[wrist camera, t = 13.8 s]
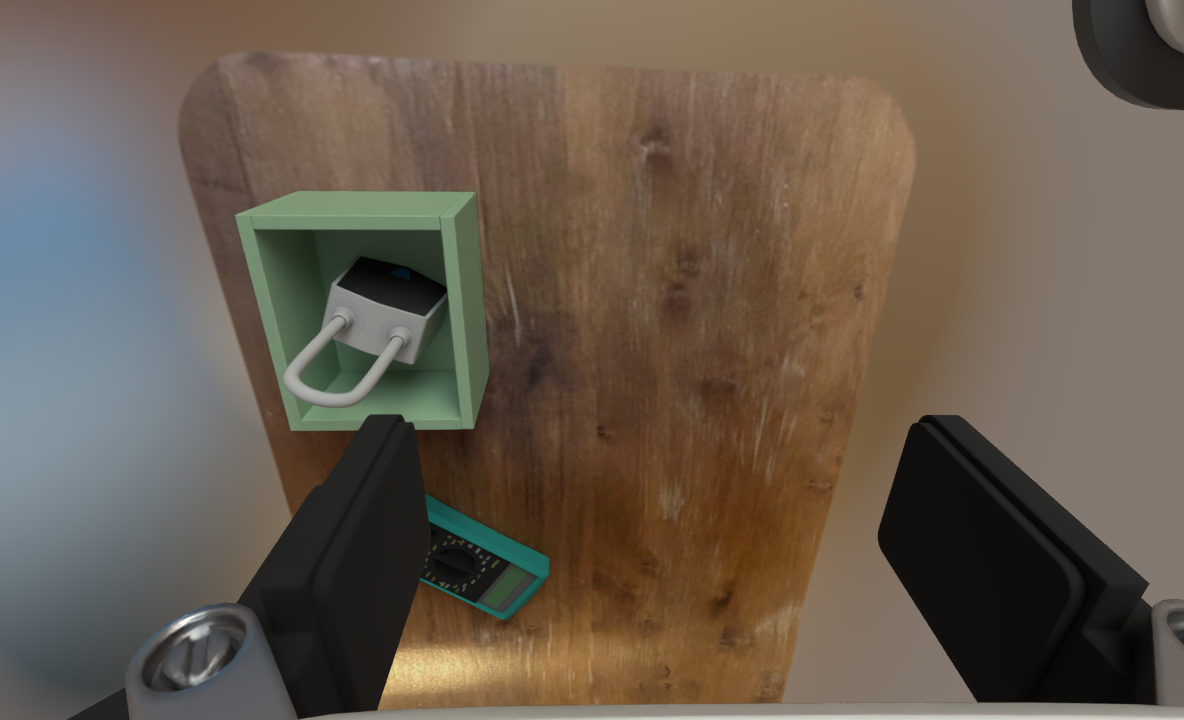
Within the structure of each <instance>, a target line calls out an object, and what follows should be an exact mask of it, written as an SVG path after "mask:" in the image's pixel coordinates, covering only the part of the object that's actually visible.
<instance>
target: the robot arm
mask: <svg viewBox="0 0 1184 720" xmlns="http://www.w3.org/2000/svg"><path fill="white" fill-rule="evenodd" d="M1145 3H1146V7H1147V10H1148V14H1149V18H1150V21H1151V23H1152V24H1153V26H1154V28H1155V30H1156V31H1157V33H1158V35H1159V36H1160V37H1161V38H1162V39H1163V40H1164V41H1165V42H1166V43H1167V44H1168V45H1169V46H1170V47H1171V48H1173V49H1175V50H1177V51H1179V52H1181V53H1183V54H1184V0H1145ZM878 542H879V546H880V549H881V550H882V552H883V554H884V556H885V557H886V559H887V560H888V562H889V564H890V565H891V567H892V568H893V570H894V571H895V573H896V575H897V576H898V578H899V579H900V581H901V582H902V584H903V586H904V587H905V589H906V590H907V592H908V594H909V595H910V597H911V598H912V600H913V601H914V603H915V605H916V606H917V608H918V609H919V611H920V612H921V614H922V616H923V617H924V619H925V620H926V622H927V623H928V625H929V627H930V628H931V630H932V631H933V633H934V634H935V636H936V638H937V639H938V641H939V642H940V644H941V645H942V647H943V649H944V650H945V652H946V653H947V655H948V657H949V658H950V659H951V661H952V663H953V664H954V666H955V668H956V669H957V671H958V672H959V674H960V675H961V677H962V678H963V680H964V682H965V683H966V685H967V687H968V688H969V690H970V691H971V693H972V694H973V696H974V697H975V699H976V700H977V702H978V703H756V704H643V705H565V706H493V707H460V708H427V709H394V710H378V711H377V709H378V705H379V702H380V699H381V696H382V693H383V690H384V687H385V684H386V681H387V678H388V675H389V672H390V669H391V666H392V663H393V660H394V657H395V654H396V651H397V648H398V645H399V642H400V639H401V636H402V632H403V629H404V626H405V623H406V620H407V617H408V614H409V611H410V608H411V605H412V602H413V599H414V596H415V593H416V590H417V587H418V584H419V581H420V578H421V575H422V572H423V569H424V566H425V563H426V559H427V556H428V553H429V550H430V543H431V530H430V524H429V517H428V511H427V504H426V497H425V491H424V484H423V478H422V471H421V465H420V458H419V451H418V445H417V438H416V432H415V427H414V424H413V423H412V422H405V420H404V417H403V416H402V415H401V414H371V415H368V417H367V418H366V419H365V421H364V422H363V424H362V425H361V427H360V428H359V430H358V432H357V433H356V435H355V436H354V438H353V439H352V441H351V442H350V444H349V445H348V447H347V449H346V450H345V452H344V453H343V455H342V456H341V458H340V459H339V461H338V463H337V464H336V466H335V467H334V469H333V470H332V472H331V473H330V475H329V476H328V478H327V480H326V481H325V483H324V484H323V485H319V486H316V487H315V488H314V489H313V490H312V491H311V492H310V493H309V495H308V496H307V498H306V499H305V501H304V502H303V504H302V505H301V507H300V508H299V510H298V511H297V513H296V514H295V516H294V517H293V519H292V520H291V522H290V523H289V525H288V526H287V528H286V529H285V531H284V532H283V534H282V535H281V537H280V538H279V540H278V542H277V543H276V544H275V546H274V547H273V549H272V550H271V552H270V553H269V555H268V557H267V558H266V559H265V561H264V562H263V564H262V565H261V567H260V568H259V570H258V571H257V573H256V575H255V576H254V577H253V579H252V581H251V582H250V583H249V585H248V586H247V588H246V589H245V591H244V592H243V594H242V595H241V597H240V599H239V600H238V601H237V603H219V604H213V605H207V606H204V607H201V608H199V609H196V610H193V611H190V612H187V613H185V614H184V615H181V616H180V617H178V618H176V619H174V620H173V621H171V622H169V623H167V624H166V625H165V626H163V627H162V628H161V629H160V630H158V631H157V632H156V633H154V634H153V635H152V636H151V637H149V638H148V640H147V641H146V642H145V643H144V644H143V645H142V646H141V648H140V649H139V650H138V651H137V652H136V653H135V655H134V657H133V659H132V661H131V663H130V665H129V667H128V668H127V673H126V681H125V688H123V689H121V690H120V691H118V692H116V693H114V694H112V695H111V696H109V697H107V698H105V699H104V700H102V701H100V702H98V703H96V704H94V705H93V706H91V707H89V708H87V709H86V710H84V711H82V712H80V713H78V714H77V715H75V716H73V717H71V718H69V719H68V720H1184V600H1181V599H1170V600H1162V601H1160V602H1159V603H1157V604H1155V605H1154V606H1153V608H1152V607H1151V606H1150V605H1149V604H1147V603H1146V602H1145V601H1144V600H1143V599H1142V598H1141V597H1142V595H1143V593H1144V592H1145V590H1146V589H1147V587H1148V585H1149V583H1148V582H1147V581H1146V580H1145V579H1144V578H1143V577H1141V576H1140V575H1139V574H1138V573H1137V572H1136V571H1135V570H1134V569H1132V568H1131V567H1130V566H1129V565H1128V564H1127V563H1126V562H1125V561H1123V560H1122V559H1121V558H1120V557H1119V556H1118V555H1117V554H1116V553H1114V552H1113V551H1112V550H1111V549H1110V548H1109V547H1108V546H1107V545H1105V544H1104V543H1103V542H1102V541H1101V540H1100V539H1099V538H1098V537H1096V536H1095V535H1094V534H1093V533H1092V532H1091V531H1090V530H1089V529H1087V528H1086V527H1085V526H1084V525H1083V524H1082V523H1081V522H1079V521H1078V520H1077V519H1076V518H1075V517H1074V516H1073V515H1072V514H1070V513H1069V512H1068V511H1067V510H1066V509H1065V508H1064V507H1063V506H1061V505H1060V504H1059V503H1058V502H1057V501H1056V500H1055V499H1054V498H1052V497H1051V496H1050V495H1049V494H1048V493H1047V492H1046V491H1045V490H1043V489H1042V488H1041V487H1040V486H1039V485H1038V484H1037V483H1036V482H1034V481H1033V480H1032V479H1031V478H1030V477H1029V476H1028V475H1026V474H1025V473H1024V472H1023V471H1022V470H1021V469H1020V468H1019V467H1018V466H1016V465H1015V464H1014V463H1013V462H1012V461H1011V460H1010V459H1008V458H1007V457H1006V456H1005V455H1004V454H1003V453H1002V452H1001V451H999V450H998V449H997V448H996V447H995V446H994V445H993V444H992V443H990V442H989V441H988V440H987V439H986V438H985V437H984V436H982V435H981V434H980V433H979V432H978V431H977V430H976V429H975V428H973V427H972V426H971V425H970V424H969V423H968V422H967V421H966V420H964V419H963V418H962V417H960V416H958V415H925V416H923V417H921V419H920V420H919V422H918V423H914V424H912V425H911V427H910V429H909V432H908V435H907V438H906V441H905V445H904V448H903V451H902V455H901V458H900V461H899V465H898V468H897V471H896V474H895V478H894V481H893V484H892V487H891V491H890V494H889V497H888V500H887V504H886V507H885V510H884V514H883V517H882V520H881V523H880V527H879V530H878Z"/></svg>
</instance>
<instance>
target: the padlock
mask: <svg viewBox="0 0 1184 720" xmlns="http://www.w3.org/2000/svg"><path fill="white" fill-rule="evenodd" d="M448 305H449V302H448V292H447V287H445V286H443V285H442V284H440V283H438V282H436V281H434V280H432V279H430V278H428V277H426V276H424V275H422V274H421V273H419V272H417V271H415V270H413V269H411V268H409V267H406V266H402V265H398V264H393V263H389V262H385V261H381V260H376V259H372V258H368V257H363V256H359V255H357V256H356V257H355V258H354V259H353V260H352V261H351V263H350V264H349V265H348V266H347V267H346V268H345V269H344V271H343V272H342V273H341V274H340V275H339V276H338V277H337V279H336V280H335V281H334V282H333V283H332V285H331V290H330V294H329V298H328V302H327V307H326V311H325V315H324V319H323V324H322V328H321V332H320V333H319V334H318V335H317V336H316V337H315V338H314V339H313V340H312V341H311V342H310V343H309V344H308V345H307V346H306V347H305V348H304V349H303V350H302V351H301V352H300V353H299V354H298V355H297V356H296V358H295V359H294V360H293V361H292V362H291V363H290V365H289V366H288V367H287V369H286V371H285V373H284V376H283V382H284V385H285V387H286V388H287V390H288V391H289V392H290V393H291V394H293V395H294V396H295V397H297V398H298V399H300V400H302V401H304V402H307V403H309V404H312V405H316V406H320V407H327V408H345V407H350V406H353V405H356V404H357V403H359V402H361V401H362V400H363V399H364V398H365V397H366V396H367V395H368V394H369V393H370V391H371V390H372V389H373V388H374V386H375V385H376V384H377V382H378V381H379V379H380V378H381V376H382V375H383V374H384V372H385V371H386V369H387V368H388V366H389V365H390V363H391V362H392V360H397V361H400V362H404V363H408V364H414V363H415V362H416V360H417V359H418V358H419V357H420V355H421V354H422V353H423V351H424V350H425V349H426V348H427V346H428V345H429V344H430V343H431V341H432V340H433V339H434V337H435V336H436V335H437V334H438V332H439V331H440V329H441V326H442V323H443V320H444V317H445V314H446V311H447V308H448ZM331 339H335V340H337V341H339V342H342V343H344V344H346V345H349V346H351V347H354V348H356V349H358V350H361V351H364V352H367V353H370V354H374V355H377V356H380V357H379V358H378V359H377V361H376V362H375V363H374V365H373V366H372V367H371V369H370V370H369V371H368V373H367V374H366V375H365V377H364V378H363V379H362V380H361V382H360V383H359V384H358V385H357V386H356V387H355V388H354V389H353V390H352V391H350V392H347V393H340V394H335V393H326V392H321V391H318V390H315V389H312V388H310V387H308V386H307V385H305V384H304V383H303V382H301V380H300V379H299V377H300V375H301V374H302V372H303V371H304V370H305V368H306V367H307V366H308V365H309V364H310V363H311V361H312V360H313V359H314V358H315V357H316V356H317V355H318V354H319V352H320V351H321V350H322V349H323V348H324V347H325V346H326V345H327V344H328V343H329V342H330V340H331Z"/></svg>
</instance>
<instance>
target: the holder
mask: <svg viewBox="0 0 1184 720" xmlns="http://www.w3.org/2000/svg"><path fill="white" fill-rule="evenodd" d="M235 218H236V222H237V226H238V230H239V233H240V237H241V241H242V245H243V249H244V253H245V256H246V260H247V264H248V268H249V272H250V276H251V280H252V283H253V287H254V291H255V295H256V299H257V303H258V307H259V310H260V314H261V318H262V322H263V326H264V330H265V334H266V337H267V341H268V345H269V349H270V353H271V357H272V360H273V364H274V368H275V372H276V376H277V380H278V384H279V387H280V391H281V395H282V399H283V403H284V407H285V411H286V414H287V418H288V422H289V426H290V430H291V431H343V430H359V428H360V427H361V425H362V424H363V422H364V421H365V419H366V418H367V417H368V415H371V414H401V415H402V416H403V417H404V420H405V422H412V423H413V424H414V427H415V430H452V429H474V426H475V423H476V419H477V416H478V412H479V409H480V405H481V402H482V398H483V394H484V391H485V387H486V384H487V380H488V377H489V362H488V348H487V335H486V322H485V309H484V296H483V282H482V269H481V256H480V243H479V230H478V217H477V203H476V193H475V192H390V191H297V192H294V193H292V194H289V195H286V196H284V197H281V198H278V199H276V200H273V201H271V202H268V203H265V204H263V205H260V206H257V207H255V208H252V209H250V210H247V211H244V212H242V213H239V214H236V215H235ZM357 255H359V256H363V257H368V258H372V259H376V260H381V261H385V262H389V263H393V264H398V265H402V266H406V267H409V268H411V269H413V270H415V271H417V272H419V273H421V274H422V275H424V276H426V277H428V278H430V279H432V280H434V281H436V282H438V283H440V284H442V285H443V286H445V287H447V292H448V302H449V305H448V308H447V311H446V314H445V317H444V320H443V323H442V326H441V329H440V331H439V332H438V334H437V335H436V336H435V337H434V339H433V340H432V341H431V343H430V344H429V345H428V346H427V348H426V349H425V350H424V351H423V353H422V354H421V355H420V357H419V358H418V359H417V360H416V362H415V363H414V364H408V363H404V362H400V361H397V360H392V362H391V363H390V365H389V366H388V368H387V369H386V371H385V372H384V374H383V375H382V376H381V378H380V379H379V381H378V382H377V384H376V385H375V386H374V388H373V389H372V390H371V391H370V393H369V394H368V395H367V396H366V397H365V398H364V399H363V400H362V401H361V402H359V403H357V404H356V405H353V406H350V407H345V408H327V407H320V406H316V405H312V404H309V403H307V402H304V401H302V400H300V399H298V398H297V397H295V396H294V395H293V394H291V393H290V392H289V391H288V390H287V388H286V387H285V385H284V382H283V376H284V373H285V371H286V369H287V367H288V366H289V365H290V363H291V362H292V361H293V360H294V359H295V358H296V356H297V355H298V354H299V353H300V352H301V351H302V350H303V349H304V348H305V347H306V346H307V345H308V344H309V343H310V342H311V341H312V340H313V339H314V338H315V337H316V336H317V335H318V334H319V333H320V332H321V328H322V324H323V319H324V315H325V311H326V307H327V302H328V298H329V294H330V290H331V285H332V283H333V282H334V281H335V280H336V279H337V277H338V276H339V275H340V274H341V273H342V272H343V271H344V269H345V268H346V267H347V266H348V265H349V264H350V263H351V261H352V260H353V259H354V258H355V257H356V256H357ZM379 357H380V356H377V355H374V354H370V353H367V352H364V351H361V350H358V349H356V348H354V347H351V346H349V345H346V344H344V343H342V342H339V341H337V340H335V339H331V340H330V342H329V343H328V344H327V345H326V346H325V347H324V348H323V349H322V350H321V351H320V352H319V354H318V355H317V356H316V357H315V358H314V359H313V360H312V361H311V363H310V364H309V365H308V366H307V367H306V368H305V370H304V371H303V372H302V374H301V375H300V377H299V379H300V380H301V382H303V383H304V384H305V385H307V386H308V387H310V388H312V389H315V390H318V391H321V392H326V393H335V394H340V393H347V392H350V391H352V390H353V389H354V388H355V387H356V386H357V385H358V384H359V383H360V382H361V380H362V379H363V378H364V377H365V375H366V374H367V373H368V371H369V370H370V369H371V367H372V366H373V365H374V363H375V362H376V361H377V359H378V358H379Z"/></svg>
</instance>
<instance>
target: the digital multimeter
mask: <svg viewBox="0 0 1184 720" xmlns="http://www.w3.org/2000/svg"><path fill="white" fill-rule="evenodd" d="M425 497H426V504H427V511H428V517H429V524H430V530H431V543H430V550H429V553H428V556H427V559H426V563H425V566H424V569H423V572H422V575H421V578H420V581H422V582H424V583H427V584H429V585H431V586H433V587H435V588H437V589H440V590H442V591H444V592H446V593H448V594H450V595H452V596H454V597H456V598H458V599H460V600H463V601H465V602H467V603H469V604H471V605H473V606H475V607H477V608H479V609H481V610H483V611H485V612H487V613H489V614H491V615H493V616H495V617H497V618H499V619H501V620H507V619H509V618H510V617H511V616H512V615H514V614H515V613H516V612H517V611H518V610H519V609H520V608H521V607H523V606H524V605H525V604H526V603H527V602H528V601H529V600H530V598H531V597H532V596H533V595H534V594H535V593H536V592H537V590H538V589H539V588H540V587H541V585H542V584H543V583H544V581H545V580H546V579H547V577H548V576H549V564H550V560H549V558H548V557H547V556H545V555H543V554H541V553H539V552H537V551H535V550H533V549H531V548H529V547H527V546H525V545H523V544H521V543H518V542H516V541H514V540H512V539H510V538H508V537H506V536H504V535H503V534H501V533H499V532H497V531H495V530H493V529H491V528H489V527H487V526H485V525H483V524H481V523H479V522H477V521H475V520H474V519H472V518H470V517H468V516H466V515H464V514H462V513H460V512H458V511H456V510H455V509H453V508H451V507H449V506H447V505H445V504H443V503H441V502H440V501H438V500H436V499H434V498H433V497H431V496H429V495H427V494H426V493H425Z"/></svg>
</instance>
